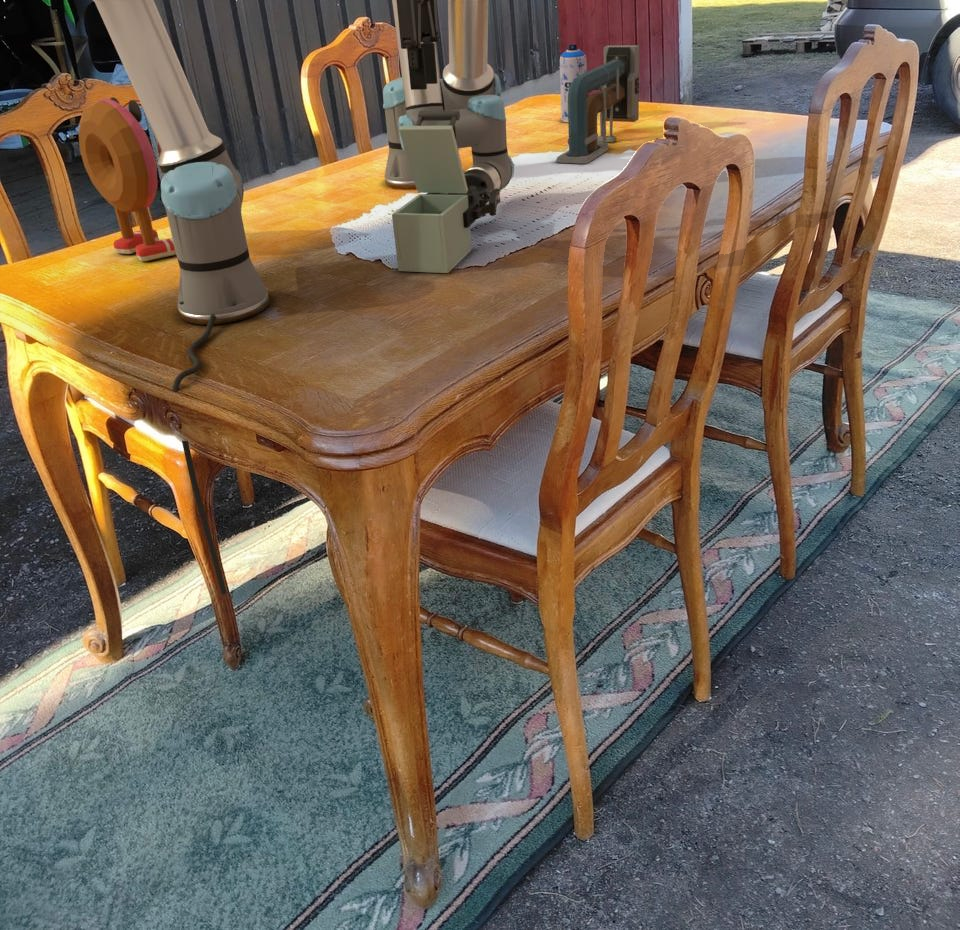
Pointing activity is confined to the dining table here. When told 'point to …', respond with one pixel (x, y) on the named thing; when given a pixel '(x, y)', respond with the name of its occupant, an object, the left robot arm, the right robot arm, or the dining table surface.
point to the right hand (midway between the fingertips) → (438, 219)
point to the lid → (434, 154)
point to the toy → (123, 172)
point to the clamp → (602, 103)
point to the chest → (431, 233)
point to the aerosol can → (570, 74)
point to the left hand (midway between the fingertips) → (424, 85)
